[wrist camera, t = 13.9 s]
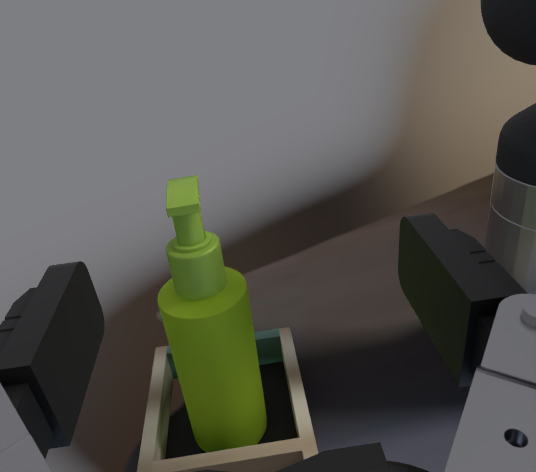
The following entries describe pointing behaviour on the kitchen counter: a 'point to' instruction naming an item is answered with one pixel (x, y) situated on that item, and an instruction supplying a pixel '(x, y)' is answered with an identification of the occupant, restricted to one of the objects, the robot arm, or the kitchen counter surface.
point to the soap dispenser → (210, 330)
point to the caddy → (237, 459)
